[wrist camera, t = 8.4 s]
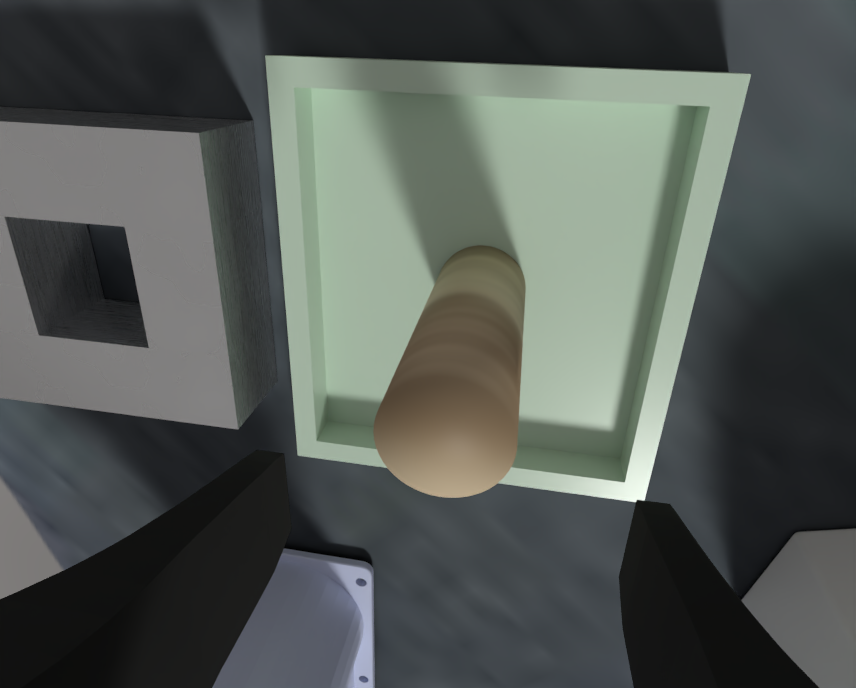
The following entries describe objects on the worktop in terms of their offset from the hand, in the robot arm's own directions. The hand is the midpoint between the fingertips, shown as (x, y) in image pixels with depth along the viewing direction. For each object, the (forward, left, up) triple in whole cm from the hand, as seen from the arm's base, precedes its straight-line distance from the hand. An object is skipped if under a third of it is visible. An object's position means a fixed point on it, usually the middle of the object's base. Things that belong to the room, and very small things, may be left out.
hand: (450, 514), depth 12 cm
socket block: (+1, +13, -10) cm, 17 cm away
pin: (+1, 0, -10) cm, 10 cm away
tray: (+1, 0, -10) cm, 10 cm away
